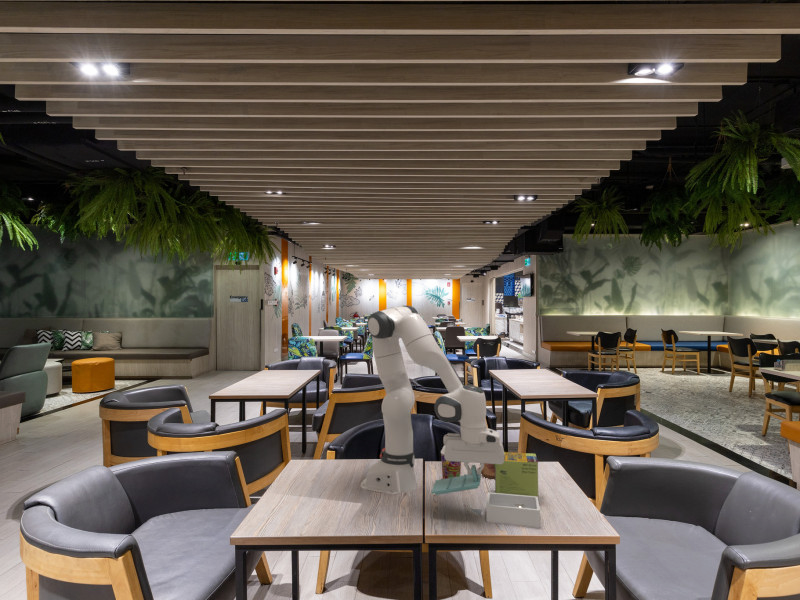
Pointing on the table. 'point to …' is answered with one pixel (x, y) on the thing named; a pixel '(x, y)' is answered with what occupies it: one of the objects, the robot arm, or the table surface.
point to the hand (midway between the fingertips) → (474, 474)
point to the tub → (513, 509)
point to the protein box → (517, 474)
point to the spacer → (520, 505)
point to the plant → (488, 471)
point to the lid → (457, 483)
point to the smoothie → (449, 467)
